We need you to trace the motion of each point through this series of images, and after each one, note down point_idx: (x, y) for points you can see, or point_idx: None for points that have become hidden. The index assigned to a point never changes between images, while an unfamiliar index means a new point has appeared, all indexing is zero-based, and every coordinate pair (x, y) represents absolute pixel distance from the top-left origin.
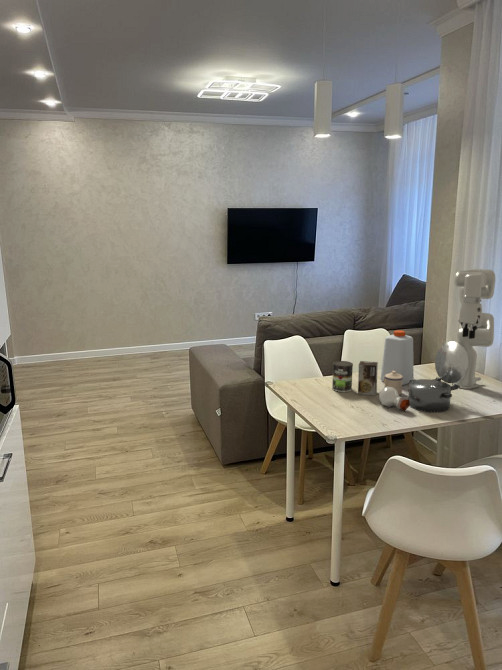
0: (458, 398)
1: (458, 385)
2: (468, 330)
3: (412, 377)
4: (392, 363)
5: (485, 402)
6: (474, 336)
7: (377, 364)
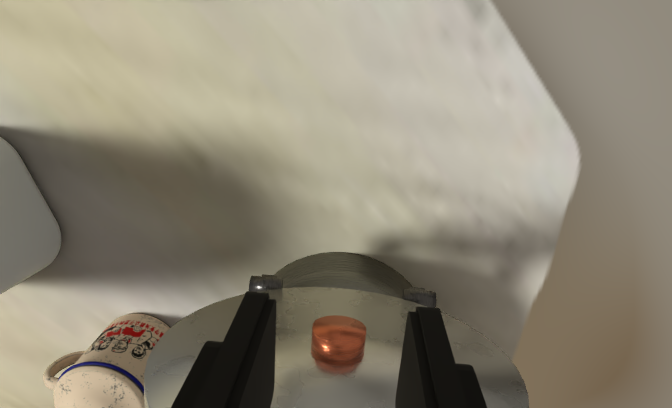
0: (341, 148)
1: (434, 306)
2: (246, 389)
3: (6, 165)
4: None
5: (462, 72)
6: (469, 367)
7: None
